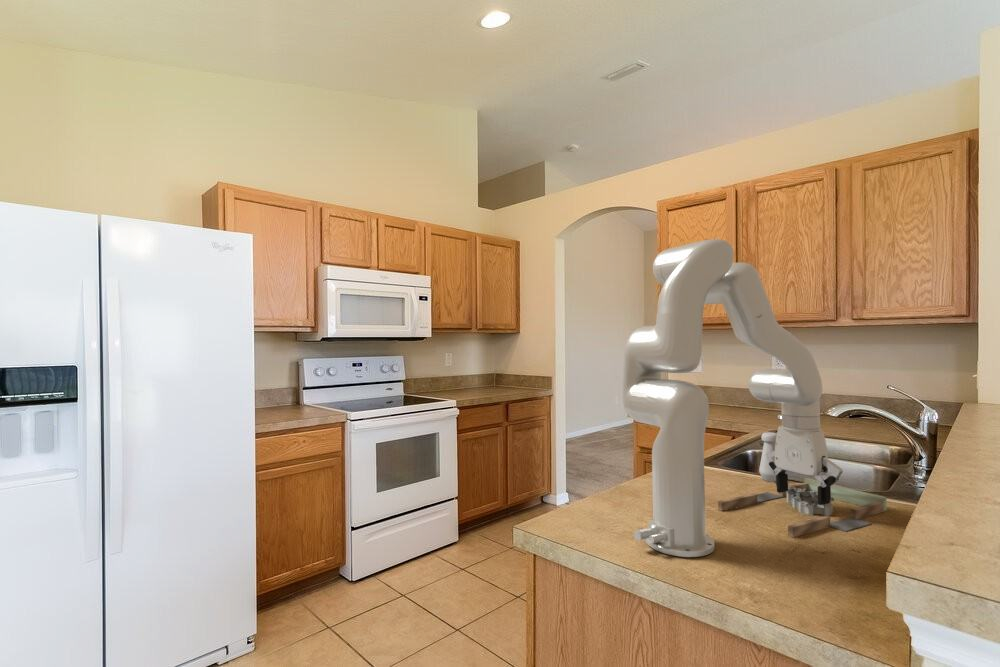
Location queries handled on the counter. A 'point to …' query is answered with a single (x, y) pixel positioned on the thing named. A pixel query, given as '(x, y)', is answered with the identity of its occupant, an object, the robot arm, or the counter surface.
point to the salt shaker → (764, 468)
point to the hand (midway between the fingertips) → (802, 497)
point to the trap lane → (867, 503)
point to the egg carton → (808, 502)
